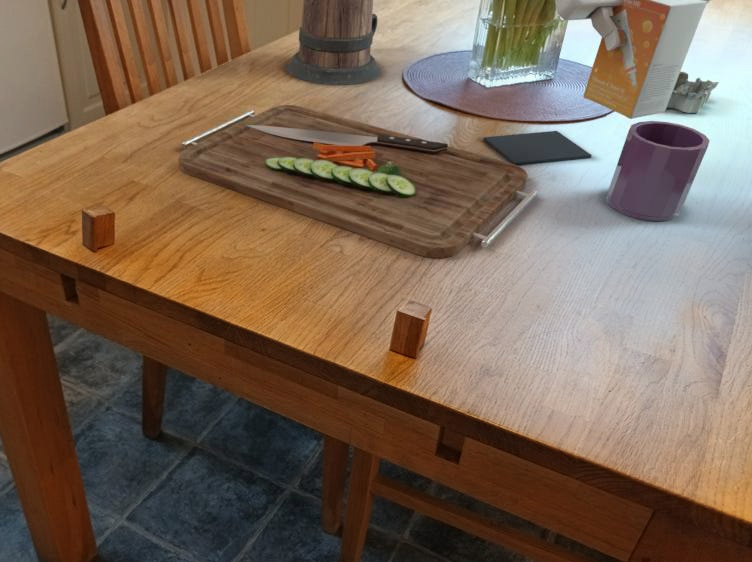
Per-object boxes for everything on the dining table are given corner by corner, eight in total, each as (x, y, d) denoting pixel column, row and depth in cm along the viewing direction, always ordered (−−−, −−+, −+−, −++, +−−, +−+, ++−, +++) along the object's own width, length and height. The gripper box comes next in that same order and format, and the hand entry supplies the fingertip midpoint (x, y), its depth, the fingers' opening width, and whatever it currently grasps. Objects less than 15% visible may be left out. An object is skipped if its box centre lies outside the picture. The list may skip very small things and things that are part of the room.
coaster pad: (555, 133, 107) (556, 130, 107) (591, 157, 101) (591, 154, 100) (483, 139, 105) (483, 137, 105) (514, 165, 98) (515, 162, 98)
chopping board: (154, 162, 97) (152, 140, 95) (270, 106, 114) (270, 86, 112) (466, 271, 77) (471, 246, 75) (549, 183, 94) (556, 161, 92)
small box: (581, 98, 94) (615, -12, 86) (616, 92, 96) (652, -15, 88) (630, 120, 88) (671, 4, 80) (666, 113, 91) (709, 0, 82)
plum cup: (649, 186, 94) (675, 118, 88) (695, 217, 87) (726, 146, 82) (592, 192, 92) (614, 124, 86) (634, 224, 86) (661, 152, 80)
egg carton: (667, 89, 124) (676, 65, 121) (714, 100, 120) (724, 74, 117) (647, 105, 117) (656, 79, 115) (695, 117, 113) (706, 90, 111)
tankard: (354, 91, 120) (367, -45, 107) (268, 72, 126) (270, -57, 114) (409, 56, 135) (426, -66, 123) (330, 41, 142) (338, -76, 129)
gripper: (563, -77, 83) (587, 36, 82) (712, -81, 87) (737, 27, 86) (534, -41, 89) (555, 64, 88) (674, -46, 93) (696, 54, 92)
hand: (646, 46), depth 87 cm, fingers closed on small box, 7 cm apart
